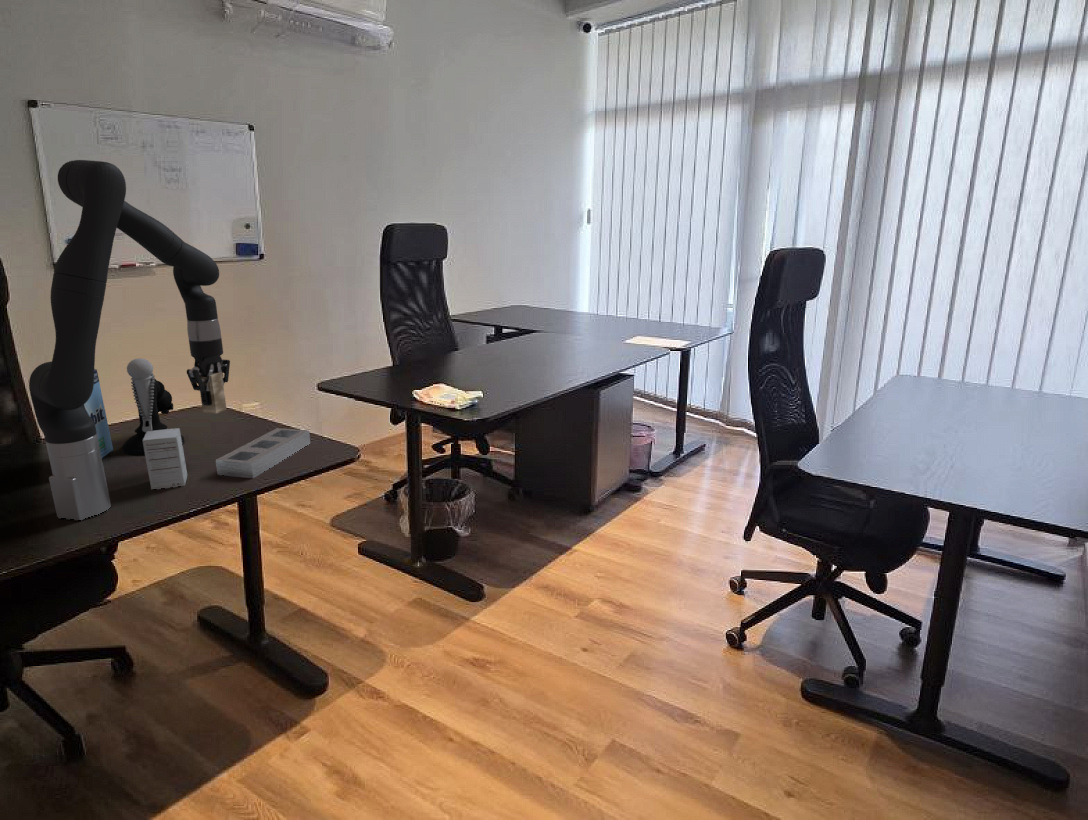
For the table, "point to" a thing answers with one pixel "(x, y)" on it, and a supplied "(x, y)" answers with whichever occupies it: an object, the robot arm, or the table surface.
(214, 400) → the maple block
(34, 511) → the table surface
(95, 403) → the gum box
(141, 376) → the sculpture
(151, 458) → the supplement box
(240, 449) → the grey slotted tray
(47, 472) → the table surface
